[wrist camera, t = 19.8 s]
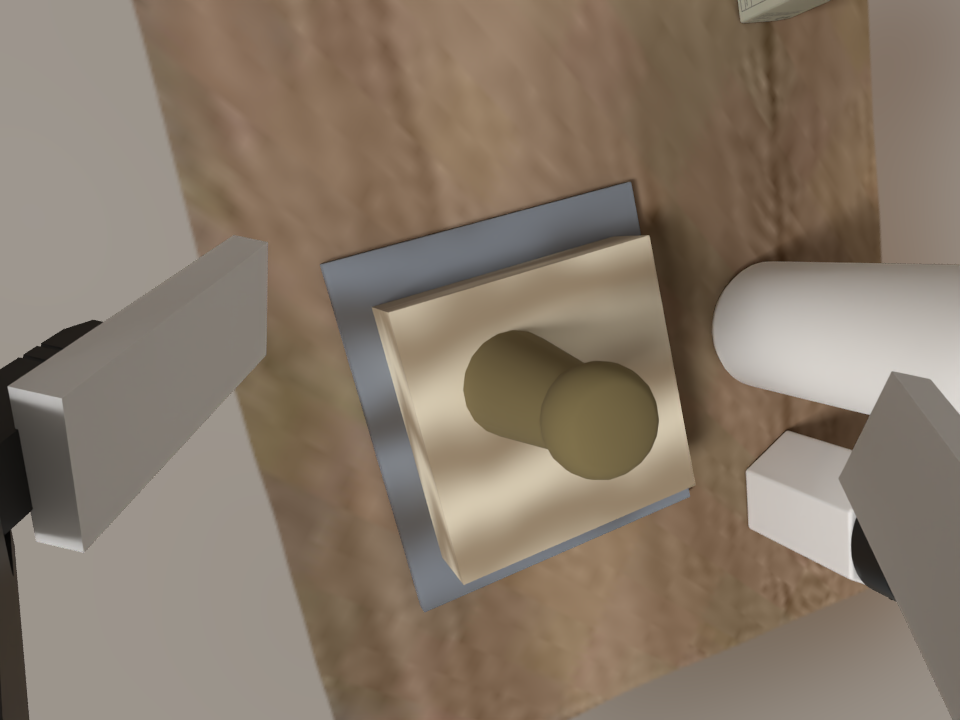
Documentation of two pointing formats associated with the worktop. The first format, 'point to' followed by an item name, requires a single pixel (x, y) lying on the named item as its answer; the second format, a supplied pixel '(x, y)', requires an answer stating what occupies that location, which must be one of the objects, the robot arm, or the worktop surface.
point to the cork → (562, 404)
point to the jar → (811, 507)
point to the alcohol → (840, 329)
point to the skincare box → (774, 9)
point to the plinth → (434, 271)
